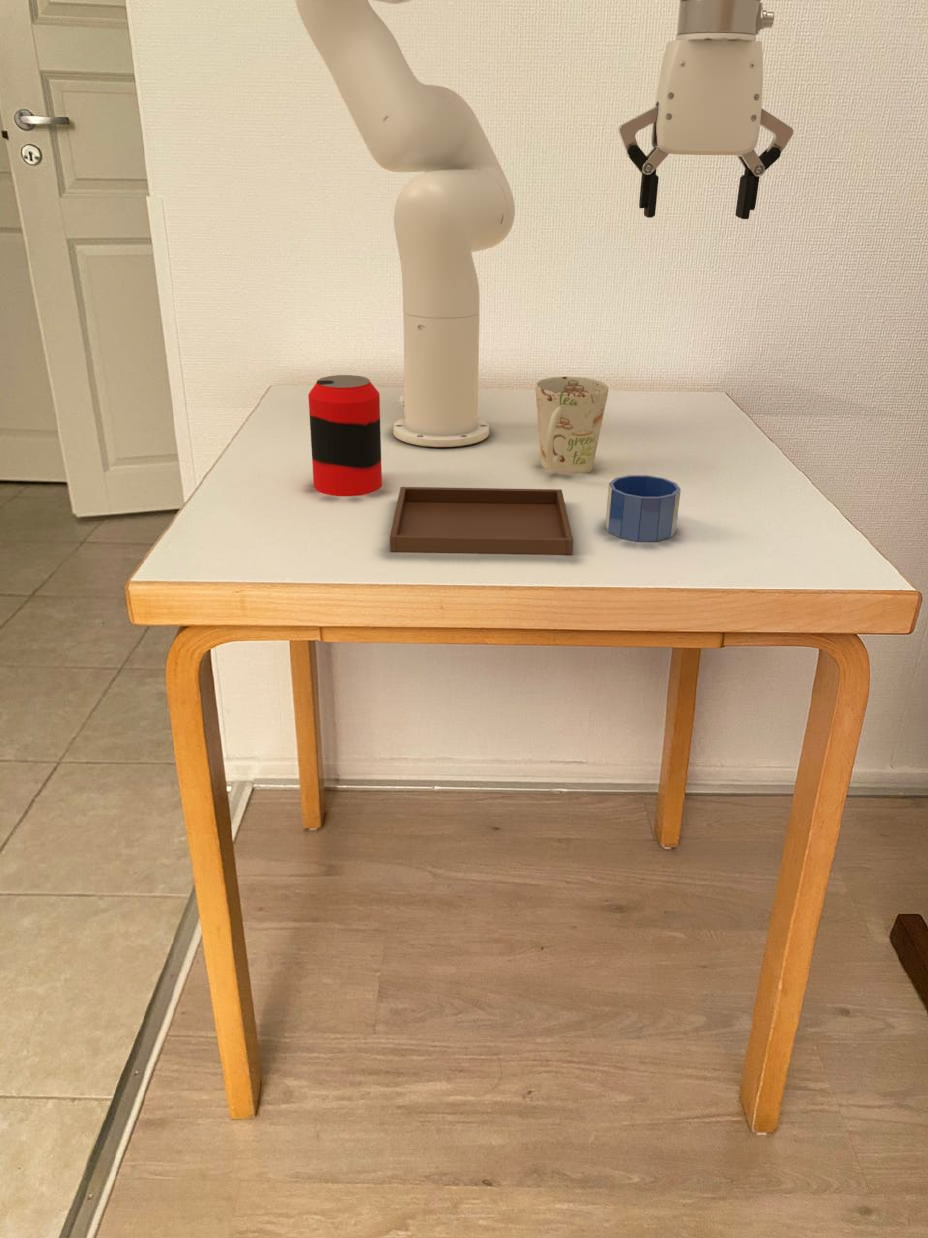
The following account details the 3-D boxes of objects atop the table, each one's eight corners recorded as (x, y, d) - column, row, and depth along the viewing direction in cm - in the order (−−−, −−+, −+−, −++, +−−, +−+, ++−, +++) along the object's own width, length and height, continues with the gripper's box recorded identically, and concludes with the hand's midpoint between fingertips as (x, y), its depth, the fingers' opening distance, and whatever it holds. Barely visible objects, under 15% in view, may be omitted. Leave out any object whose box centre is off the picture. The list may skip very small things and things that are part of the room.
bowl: (592, 528, 99) (595, 481, 97) (642, 516, 102) (647, 471, 100) (636, 551, 94) (641, 502, 92) (688, 537, 97) (694, 490, 95)
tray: (390, 556, 92) (389, 536, 91) (400, 504, 105) (400, 486, 104) (572, 559, 92) (573, 540, 91) (560, 506, 105) (561, 489, 104)
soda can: (307, 481, 111) (301, 375, 106) (372, 474, 113) (368, 371, 108) (322, 503, 105) (316, 392, 99) (390, 495, 107) (387, 386, 102)
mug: (608, 462, 119) (615, 380, 114) (585, 495, 108) (591, 406, 104) (542, 454, 121) (546, 373, 117) (513, 486, 111) (516, 398, 106)
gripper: (796, 29, 97) (769, 215, 105) (622, 26, 97) (608, 212, 105) (819, 22, 90) (789, 221, 98) (632, 19, 90) (616, 219, 98)
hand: (695, 217), depth 101 cm, fingers open, 9 cm apart
